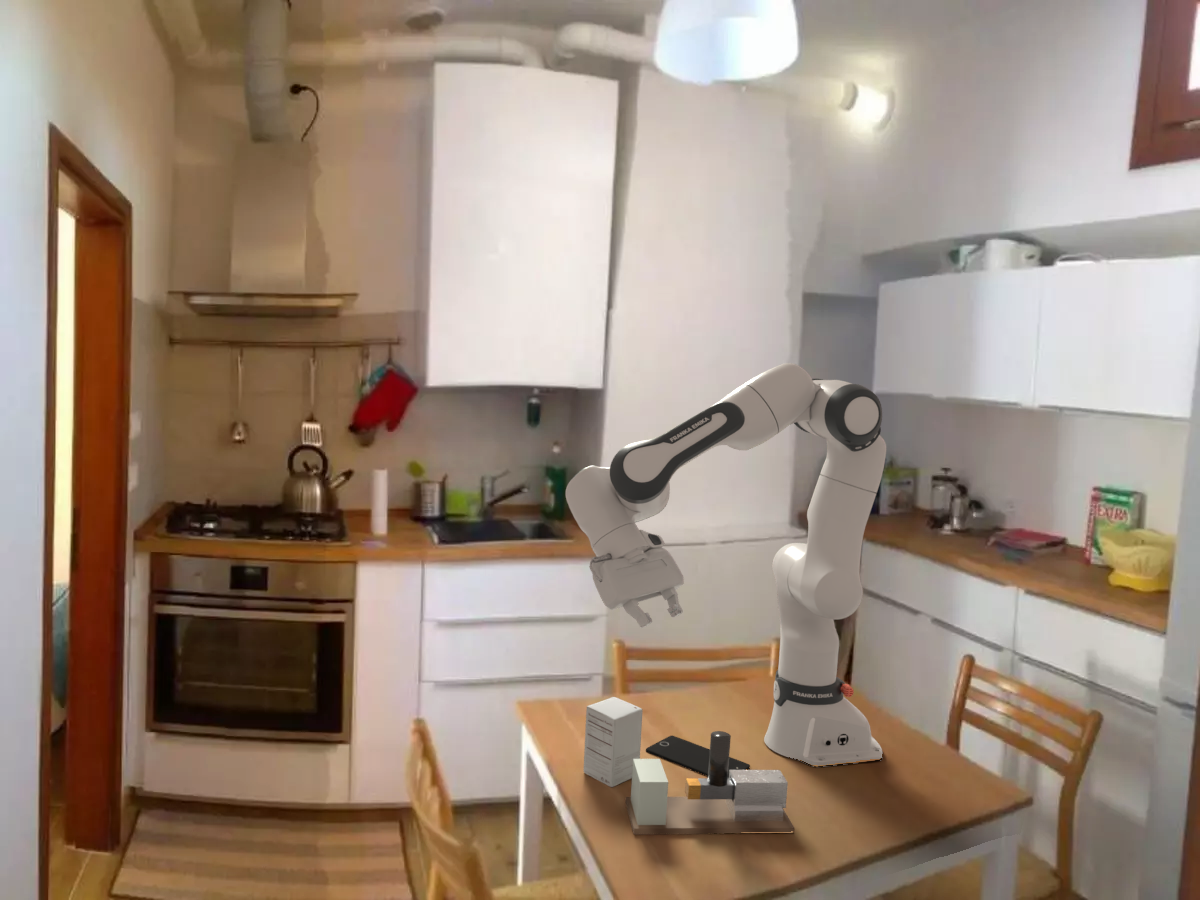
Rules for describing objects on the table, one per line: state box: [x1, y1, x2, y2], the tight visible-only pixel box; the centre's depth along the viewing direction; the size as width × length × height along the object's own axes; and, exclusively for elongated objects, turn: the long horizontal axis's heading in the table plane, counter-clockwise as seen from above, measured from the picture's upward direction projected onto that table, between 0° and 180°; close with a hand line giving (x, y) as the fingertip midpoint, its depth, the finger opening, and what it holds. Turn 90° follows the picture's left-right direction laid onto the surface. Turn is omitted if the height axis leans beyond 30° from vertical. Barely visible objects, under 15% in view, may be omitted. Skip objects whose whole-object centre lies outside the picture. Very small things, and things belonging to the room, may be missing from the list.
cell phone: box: [645, 735, 751, 778], centre depth 172 cm, size 9×18×1 cm, turn 51°
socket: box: [630, 758, 669, 825], centre depth 150 cm, size 4×8×7 cm, turn 6°
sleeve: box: [726, 769, 789, 821], centre depth 152 cm, size 9×6×6 cm
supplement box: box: [583, 696, 643, 788], centre depth 164 cm, size 7×7×13 cm
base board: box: [625, 796, 795, 835], centre depth 151 cm, size 26×10×1 cm, turn 96°
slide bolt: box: [684, 730, 735, 799], centre depth 151 cm, size 15×3×10 cm, turn 96°
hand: (663, 620), depth 156 cm, fingers open, 8 cm apart
